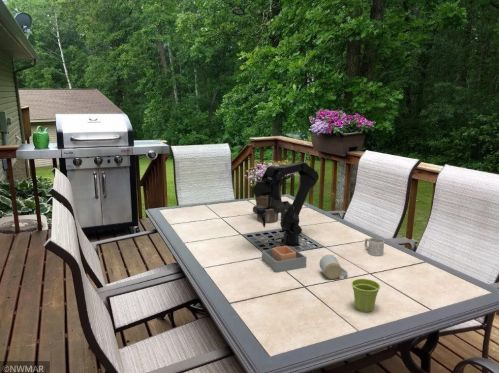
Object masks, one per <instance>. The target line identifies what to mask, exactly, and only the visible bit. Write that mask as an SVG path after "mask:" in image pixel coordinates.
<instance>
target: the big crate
mask: <svg viewBox="0 0 499 373" xmlns="http://www.w3.org/2000/svg"><path fill="white" fill-rule="evenodd" d="M287 247H289V248H290V249H292V250H293V251H294V252H296V258H295V259H289V260H283V261H276V260H274V259H273V258H272V248H270V249H264V250H261V261H262V262H263V263H264V264H265V265H266V266H268V267H269V268H270V269H271V270H272V271H273V272H274V273H276V274H278V273H283V272H289V271H294V270H299V269H300V270H301V269H306V268H307V256H305V255H304V254H302V253H301V252H300V251H298V250H297V249H296V248H294V246H287Z"/></svg>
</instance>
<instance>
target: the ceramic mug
mask: <svg viewBox="0 0 499 373" xmlns="http://www.w3.org/2000/svg"><path fill="white" fill-rule="evenodd" d="M319 268H320V269H321V271H322V273H323V274H324V276H325V277H326V278H328V279H329V280H335V279H337V278H339V277H343V278H346V277H347V276H348V275H349V274H348V271H347V270H345V269H344V268H343V267H342V266H341V265H340V263H339V261H338V259H337V257H336V256H334V255H332V254H327V255H326V254H325V255H324V256H322V257H321V259H320V260H319Z"/></svg>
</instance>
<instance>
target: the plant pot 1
mask: <svg viewBox="0 0 499 373" xmlns="http://www.w3.org/2000/svg"><path fill="white" fill-rule="evenodd" d="M254 196H255V195H254ZM280 196H281V197H282V196H283V193H282V192H280ZM254 199H255V203H256V204H255V206H259V205H261V206H263V207H267V206H266V203H267V197H266V196H261V197H256V196H255V197H254ZM264 214H266V216H265V224H268V223H270V224H272V223H276V222H278V220H279V213H275V211H274V210H272V211H265V213H264ZM256 220H257V221H258V222H260V223H262V222H261V220H260V217H259V216H258V215H257V214H256Z"/></svg>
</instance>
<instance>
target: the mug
mask: <svg viewBox="0 0 499 373" xmlns="http://www.w3.org/2000/svg"><path fill="white" fill-rule="evenodd" d="M364 248H366V250H368V251H367V253H368V255H370V256H372V257H382V256H384V249H385V240H384V239H383V238H381V237H380V238H379V237H371V238H365V240H364Z"/></svg>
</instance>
